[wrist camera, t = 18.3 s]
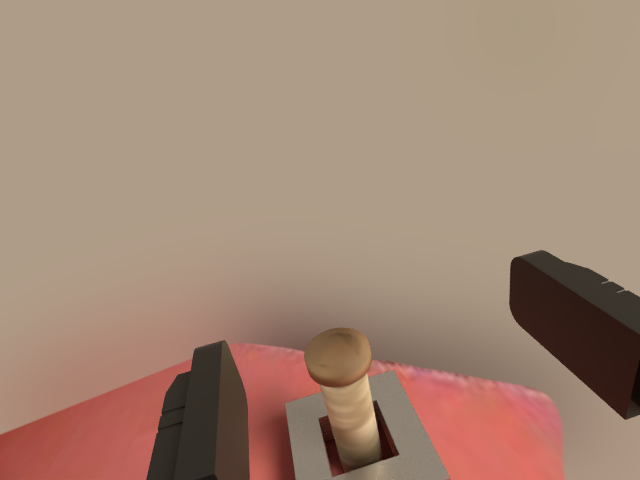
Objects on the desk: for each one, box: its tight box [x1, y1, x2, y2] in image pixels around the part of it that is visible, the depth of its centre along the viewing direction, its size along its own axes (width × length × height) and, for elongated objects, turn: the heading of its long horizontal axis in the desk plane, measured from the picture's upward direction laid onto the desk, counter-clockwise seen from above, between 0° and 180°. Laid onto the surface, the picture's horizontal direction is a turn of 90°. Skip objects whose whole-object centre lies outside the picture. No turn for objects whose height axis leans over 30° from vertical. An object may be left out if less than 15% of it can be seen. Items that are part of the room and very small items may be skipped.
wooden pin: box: [304, 328, 383, 473], centre depth 33 cm, size 5×5×14 cm
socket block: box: [285, 370, 451, 480], centre depth 35 cm, size 12×12×4 cm
